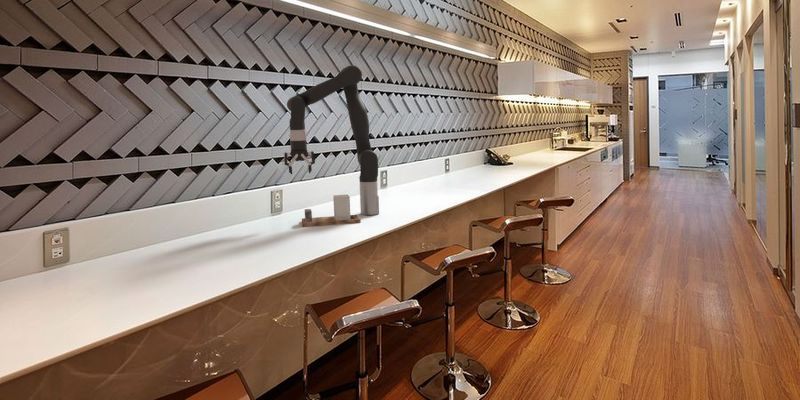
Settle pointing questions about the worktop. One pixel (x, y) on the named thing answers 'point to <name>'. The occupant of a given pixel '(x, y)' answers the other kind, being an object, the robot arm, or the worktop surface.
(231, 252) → the worktop surface
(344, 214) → the supplement box
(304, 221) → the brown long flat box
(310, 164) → the robot arm
